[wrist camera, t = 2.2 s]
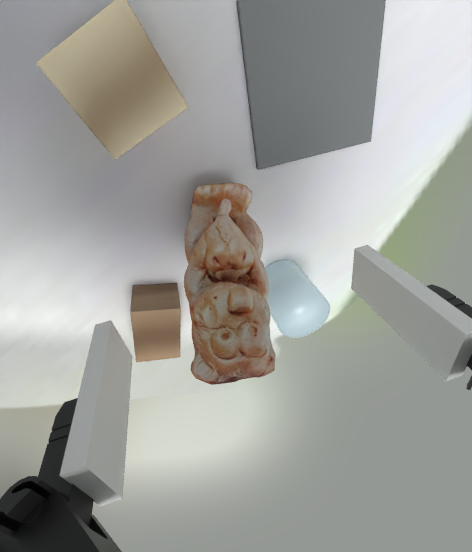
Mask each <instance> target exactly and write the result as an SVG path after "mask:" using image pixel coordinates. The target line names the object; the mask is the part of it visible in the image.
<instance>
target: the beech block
mask: <svg viewBox="0 0 472 552" xmlns="http://www.w3.org/2000/svg"><path fill="white" fill-rule="evenodd" d="M36 64H37V65H38V67H39V68H40V69H41V70H42V71H43V73H44V74H45V75H46V76H47V77H48V79H49V80H50V81H51V82H52V84H53V85H54V86H55V87H56V88H57V90H58V91H59V92H60V93H61V95H62V96H63V97H64V98H65V99H66V101H67V102H68V103H69V104H70V105H71V107H72V108H73V109H74V110H75V112H76V113H77V114H78V115H79V116H80V118H81V119H82V120H83V121H84V123H85V124H86V125H87V126H88V127H89V129H90V130H91V131H92V132H93V133H94V135H95V136H96V137H97V138H98V140H99V141H100V142H101V143H102V144H103V146H104V147H105V148H106V149H107V151H108V152H109V153H110V154H111V155H112V157H113V158H114V159H115V160H116V159H117V158H119V157H120V156H122V155H123V154H124V153H126V152H127V151H129V150H130V149H131V148H133V147H134V146H136V145H137V144H138V143H140V142H141V141H142V140H144V139H145V138H147V137H148V136H149V135H151V134H152V133H154V132H155V131H156V130H158V129H159V128H161V127H162V126H163V125H165V124H166V123H168V122H169V121H170V120H172V119H173V118H174V117H176V116H177V115H179V114H180V113H181V112H183V111H184V110H186V109H187V108H188V106H187V104H186V102H185V100H184V99H183V97H182V95H181V93H180V92H179V90H178V88H177V87H176V85H175V83H174V81H173V80H172V78H171V76H170V75H169V73H168V71H167V69H166V68H165V66H164V64H163V62H162V61H161V59H160V57H159V56H158V54H157V52H156V50H155V49H154V47H153V45H152V43H151V42H150V40H149V38H148V37H147V35H146V33H145V31H144V30H143V28H142V26H141V24H140V23H139V21H138V19H137V18H136V16H135V14H134V12H133V11H132V9H131V7H130V6H129V4H128V2H127V0H114V1H113V2H112V3H110V4H109V5H108V6H107V7H105V8H104V9H103V10H101V11H100V12H99V13H98V14H96V15H95V16H94V17H93V18H91V19H90V20H89V21H88V22H86V23H85V24H84V25H83V26H81V27H80V28H79V29H77V30H76V31H75V32H74V33H72V34H71V35H70V36H69V37H67V38H66V39H65V40H64V41H62V42H61V43H60V44H58V45H57V46H56V47H55V48H53V49H52V50H51V51H50V52H48V53H47V54H46V55H45V56H43V57H42V58H41V59H39V60H38V61H37V62H36Z"/></svg>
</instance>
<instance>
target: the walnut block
mask: <svg viewBox="0 0 472 552" xmlns="http://www.w3.org/2000/svg"><path fill="white" fill-rule="evenodd" d="M131 321H132V329H133V338H134V347H135V356H136V362H143V361H152V360H160V359H169V358H177V357H180V301H179V294H178V287H177V283H169V284H149V285H133V289H132V301H131Z"/></svg>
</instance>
